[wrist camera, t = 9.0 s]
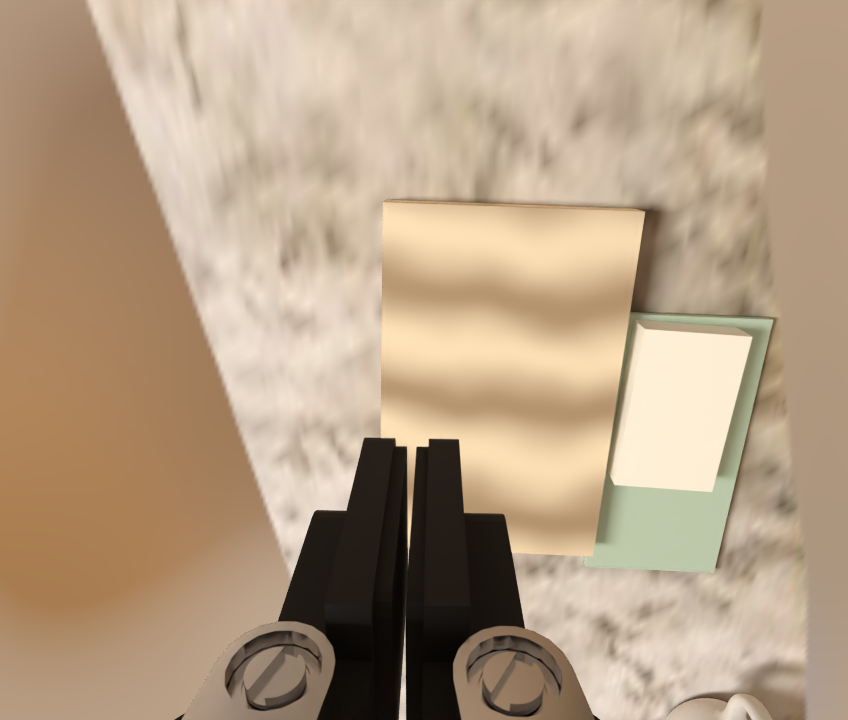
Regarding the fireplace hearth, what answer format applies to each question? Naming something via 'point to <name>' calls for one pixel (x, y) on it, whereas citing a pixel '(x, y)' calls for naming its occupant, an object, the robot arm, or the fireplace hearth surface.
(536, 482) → the wavy wooden board
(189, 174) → the fireplace hearth surface
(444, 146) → the fireplace hearth surface
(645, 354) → the cream rectangular block
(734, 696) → the cup
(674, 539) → the mat
